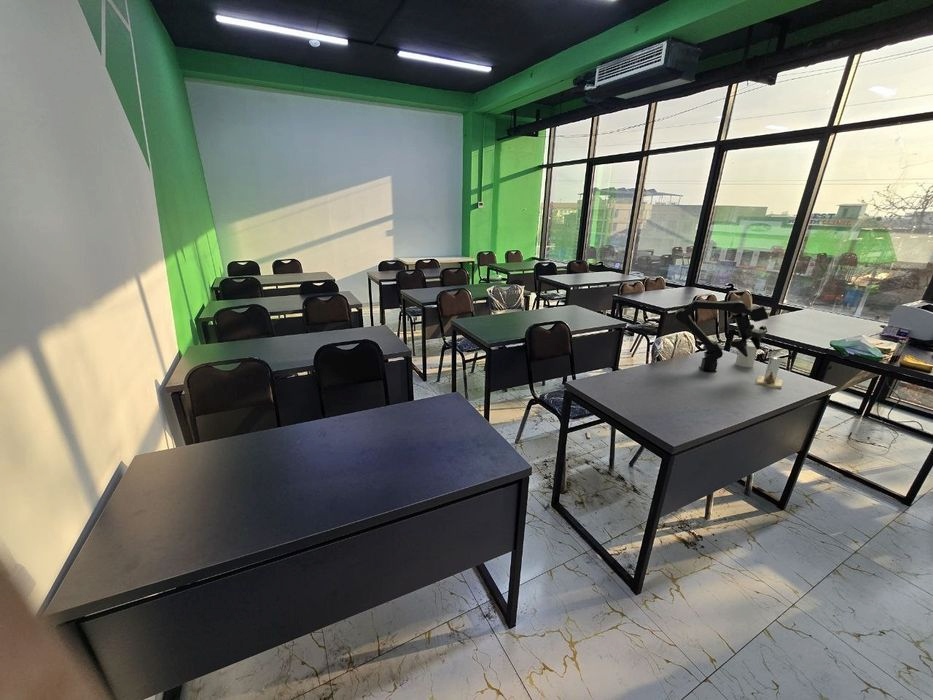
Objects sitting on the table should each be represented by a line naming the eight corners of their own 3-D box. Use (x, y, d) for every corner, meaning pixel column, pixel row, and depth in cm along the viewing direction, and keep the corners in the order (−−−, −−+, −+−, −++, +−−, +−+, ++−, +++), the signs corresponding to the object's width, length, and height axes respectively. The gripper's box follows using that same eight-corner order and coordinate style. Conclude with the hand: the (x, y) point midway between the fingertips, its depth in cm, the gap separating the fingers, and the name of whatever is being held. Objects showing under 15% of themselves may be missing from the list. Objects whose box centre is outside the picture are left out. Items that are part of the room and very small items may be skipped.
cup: (756, 367, 217) (761, 346, 213) (741, 367, 217) (746, 346, 213) (746, 362, 224) (751, 342, 220) (732, 361, 224) (737, 341, 220)
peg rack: (755, 383, 197) (758, 373, 195) (757, 377, 204) (760, 368, 202) (780, 389, 191) (783, 379, 189) (782, 382, 198) (784, 372, 196)
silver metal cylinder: (767, 382, 195) (773, 359, 191) (761, 378, 199) (767, 356, 195) (777, 382, 195) (783, 360, 191) (771, 378, 199) (777, 356, 195)
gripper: (747, 330, 189) (756, 360, 191) (772, 316, 195) (781, 345, 196) (725, 331, 200) (734, 360, 201) (749, 318, 205) (758, 346, 207)
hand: (752, 353), depth 201 cm, fingers open, 9 cm apart
